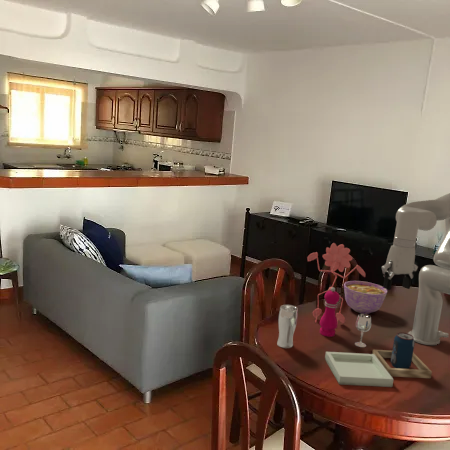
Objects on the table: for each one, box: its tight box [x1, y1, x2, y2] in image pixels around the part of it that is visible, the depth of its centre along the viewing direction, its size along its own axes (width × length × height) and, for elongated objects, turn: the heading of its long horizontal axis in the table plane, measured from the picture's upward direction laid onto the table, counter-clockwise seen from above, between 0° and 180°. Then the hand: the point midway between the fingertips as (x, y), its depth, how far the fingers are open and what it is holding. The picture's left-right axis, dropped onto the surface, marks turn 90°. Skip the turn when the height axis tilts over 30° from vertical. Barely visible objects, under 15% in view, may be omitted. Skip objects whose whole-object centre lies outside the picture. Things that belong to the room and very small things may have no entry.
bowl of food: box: [343, 280, 388, 315], centre depth 229 cm, size 20×20×12 cm
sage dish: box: [324, 351, 394, 388], centre depth 167 cm, size 18×18×3 cm
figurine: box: [306, 242, 366, 326], centre depth 211 cm, size 15×26×35 cm, turn 65°
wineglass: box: [354, 313, 372, 348], centre depth 189 cm, size 6×6×12 cm
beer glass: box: [276, 304, 299, 349], centre depth 183 cm, size 7×7×15 cm
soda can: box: [390, 331, 416, 369], centre depth 173 cm, size 7×7×12 cm
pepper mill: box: [319, 286, 341, 338], centre depth 197 cm, size 7×7×20 cm
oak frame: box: [371, 349, 433, 379], centre depth 174 cm, size 15×15×2 cm
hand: (396, 288), depth 178 cm, fingers open, 9 cm apart
